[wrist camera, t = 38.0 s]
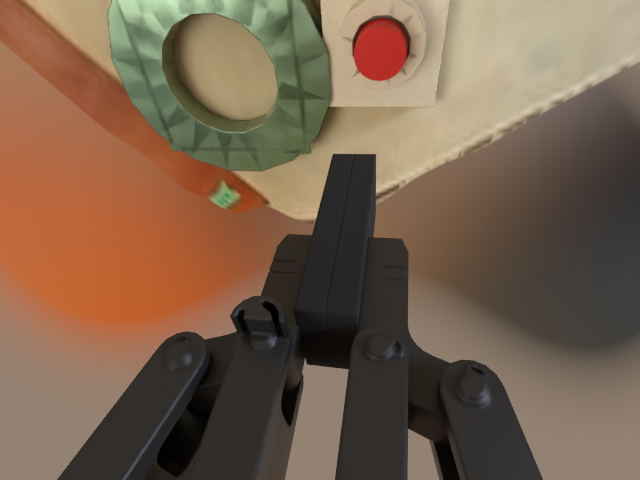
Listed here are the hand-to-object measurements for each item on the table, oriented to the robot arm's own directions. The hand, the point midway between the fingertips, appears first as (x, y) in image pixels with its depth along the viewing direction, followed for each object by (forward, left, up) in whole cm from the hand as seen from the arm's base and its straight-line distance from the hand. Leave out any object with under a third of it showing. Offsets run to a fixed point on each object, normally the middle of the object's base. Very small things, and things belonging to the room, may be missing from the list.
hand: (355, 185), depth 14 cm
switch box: (0, +2, -25) cm, 25 cm away
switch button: (0, +2, -22) cm, 22 cm away
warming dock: (+15, +5, -25) cm, 30 cm away
